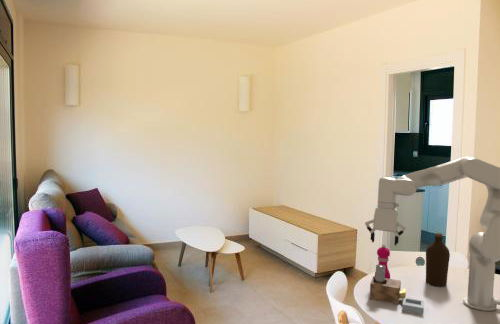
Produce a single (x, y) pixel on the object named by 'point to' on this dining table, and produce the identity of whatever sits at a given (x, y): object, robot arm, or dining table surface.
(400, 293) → the tan wooden t-shaped piece
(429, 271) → the olive oil
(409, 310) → the grey square tray
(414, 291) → the dining table surface
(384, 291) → the socket block
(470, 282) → the robot arm
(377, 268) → the grey cylinder
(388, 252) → the pepper mill
